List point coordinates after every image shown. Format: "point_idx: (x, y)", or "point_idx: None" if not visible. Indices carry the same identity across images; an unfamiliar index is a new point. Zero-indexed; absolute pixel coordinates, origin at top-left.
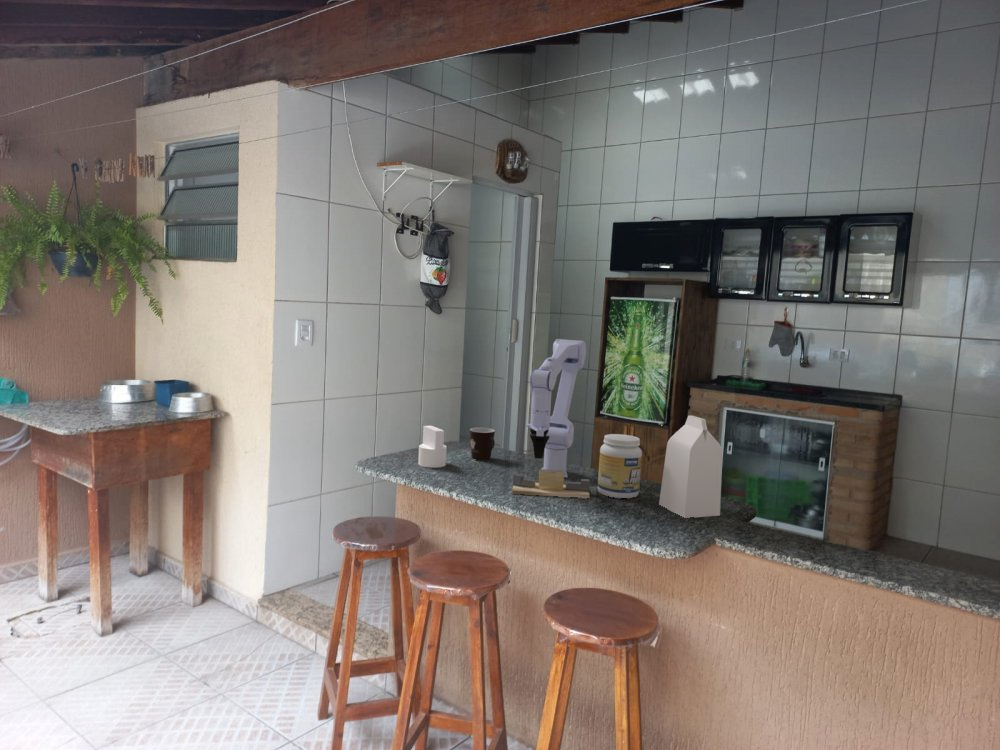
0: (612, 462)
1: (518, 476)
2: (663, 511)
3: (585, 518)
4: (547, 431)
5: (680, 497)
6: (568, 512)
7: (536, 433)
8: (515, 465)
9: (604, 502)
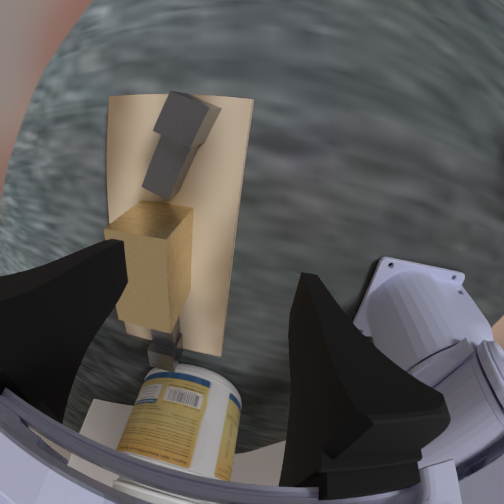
0: (121, 438)
1: (160, 117)
2: (110, 395)
3: (17, 271)
4: (280, 485)
5: (93, 422)
6: (27, 248)
7: (315, 423)
8: None
9: (116, 344)
